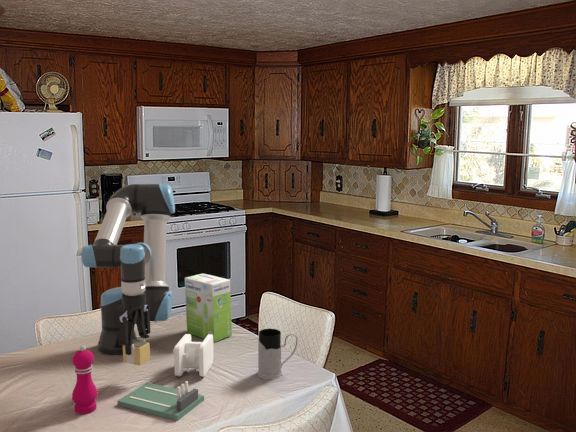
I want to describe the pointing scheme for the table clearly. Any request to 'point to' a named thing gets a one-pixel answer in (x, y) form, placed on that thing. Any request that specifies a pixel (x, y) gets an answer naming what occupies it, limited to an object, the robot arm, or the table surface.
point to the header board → (162, 400)
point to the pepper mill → (84, 382)
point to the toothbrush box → (208, 306)
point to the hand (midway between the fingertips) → (136, 359)
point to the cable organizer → (193, 355)
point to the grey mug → (270, 353)
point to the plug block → (139, 352)
